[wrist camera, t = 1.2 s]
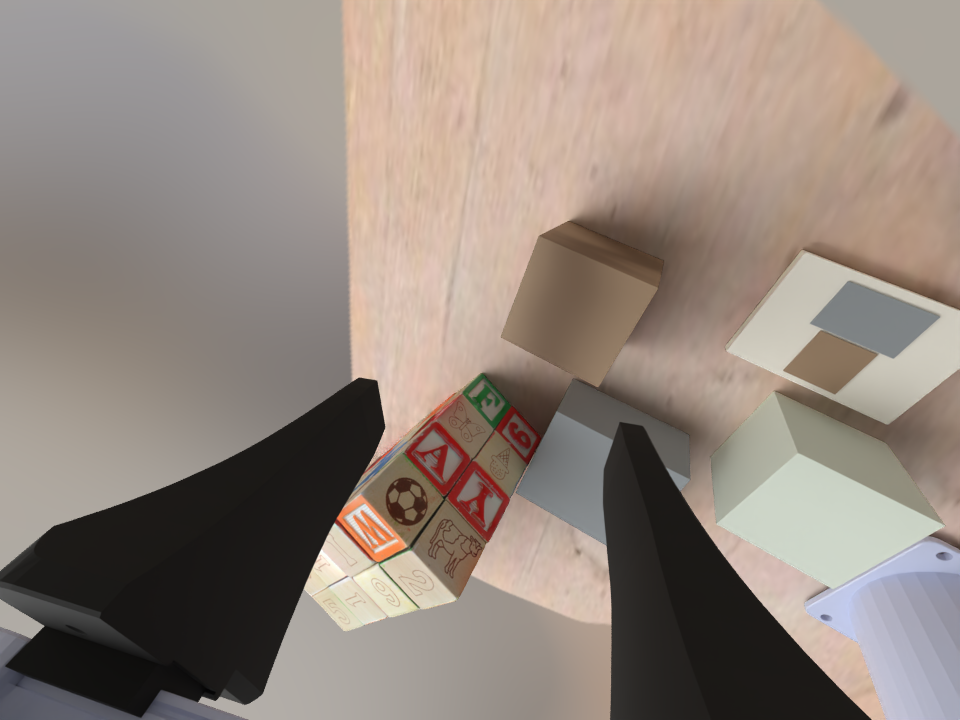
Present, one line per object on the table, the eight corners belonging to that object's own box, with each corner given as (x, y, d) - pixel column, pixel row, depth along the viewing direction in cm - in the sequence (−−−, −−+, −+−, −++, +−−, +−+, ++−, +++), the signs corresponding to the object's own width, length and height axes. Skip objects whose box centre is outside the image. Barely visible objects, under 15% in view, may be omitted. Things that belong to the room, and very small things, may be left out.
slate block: (689, 432, 22) (690, 479, 18) (630, 505, 25) (623, 555, 22) (574, 376, 23) (556, 411, 20) (535, 453, 27) (515, 492, 24)
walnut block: (664, 260, 18) (658, 288, 14) (614, 344, 21) (598, 387, 17) (569, 220, 19) (539, 236, 15) (533, 305, 22) (500, 337, 18)
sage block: (885, 442, 17) (945, 526, 13) (803, 504, 20) (832, 589, 16) (773, 390, 19) (798, 452, 15) (710, 455, 21) (716, 523, 17)
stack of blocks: (395, 522, 39) (296, 646, 29) (353, 477, 39) (239, 586, 29) (544, 437, 26) (458, 606, 16) (482, 368, 26) (356, 497, 16)
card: (997, 324, 14) (1010, 331, 14) (881, 417, 17) (888, 426, 16) (802, 249, 16) (806, 252, 15) (725, 346, 19) (726, 352, 18)
